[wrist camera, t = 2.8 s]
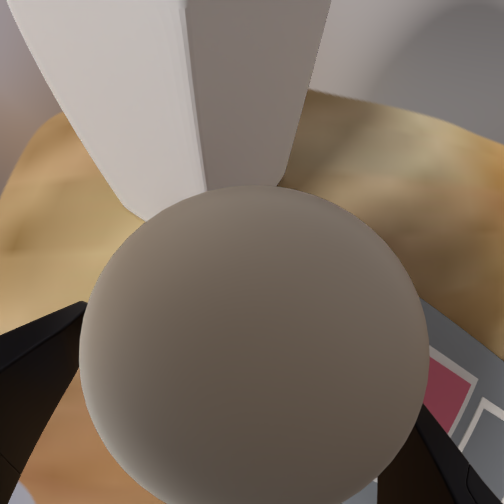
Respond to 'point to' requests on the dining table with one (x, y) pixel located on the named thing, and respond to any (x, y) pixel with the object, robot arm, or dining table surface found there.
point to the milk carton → (178, 87)
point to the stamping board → (462, 400)
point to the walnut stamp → (254, 351)
